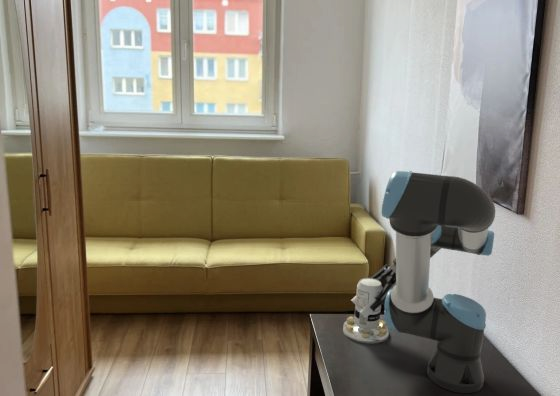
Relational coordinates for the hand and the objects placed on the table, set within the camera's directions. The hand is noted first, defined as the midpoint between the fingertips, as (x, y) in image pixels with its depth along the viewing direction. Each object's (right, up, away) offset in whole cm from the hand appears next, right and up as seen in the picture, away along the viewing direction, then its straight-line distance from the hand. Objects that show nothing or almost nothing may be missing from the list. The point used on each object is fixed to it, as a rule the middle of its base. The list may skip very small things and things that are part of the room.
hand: (358, 308), depth 159 cm
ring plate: (+3, -8, +2) cm, 9 cm away
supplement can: (+3, -6, +2) cm, 7 cm away
